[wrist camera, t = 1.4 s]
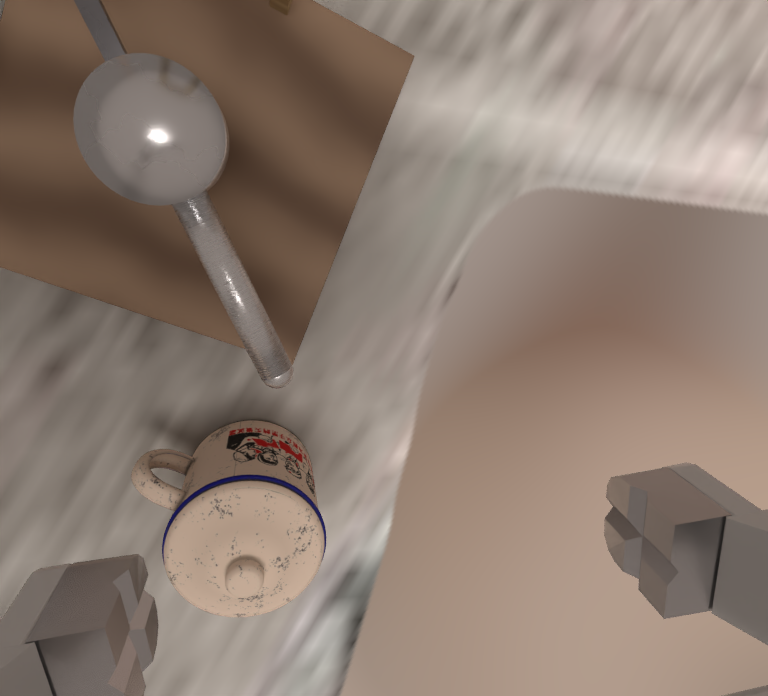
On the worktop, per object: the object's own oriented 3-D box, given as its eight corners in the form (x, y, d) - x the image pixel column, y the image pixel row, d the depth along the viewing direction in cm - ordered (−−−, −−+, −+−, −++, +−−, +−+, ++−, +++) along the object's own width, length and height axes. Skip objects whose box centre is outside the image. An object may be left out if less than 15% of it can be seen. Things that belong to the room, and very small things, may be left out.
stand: (291, 355, 37) (303, 451, 24) (-37, 244, 31) (-268, 287, 18) (406, 63, 33) (499, -21, 20) (57, -124, 28) (-144, -421, 14)
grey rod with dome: (333, 355, 28) (339, 371, 25) (232, 400, 27) (228, 420, 25) (126, -98, 21) (107, -136, 19) (-13, -47, 21) (-50, -79, 18)
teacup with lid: (338, 449, 40) (364, 549, 29) (273, 546, 41) (275, 677, 30) (186, 372, 36) (151, 453, 25) (120, 481, 37) (58, 603, 26)
